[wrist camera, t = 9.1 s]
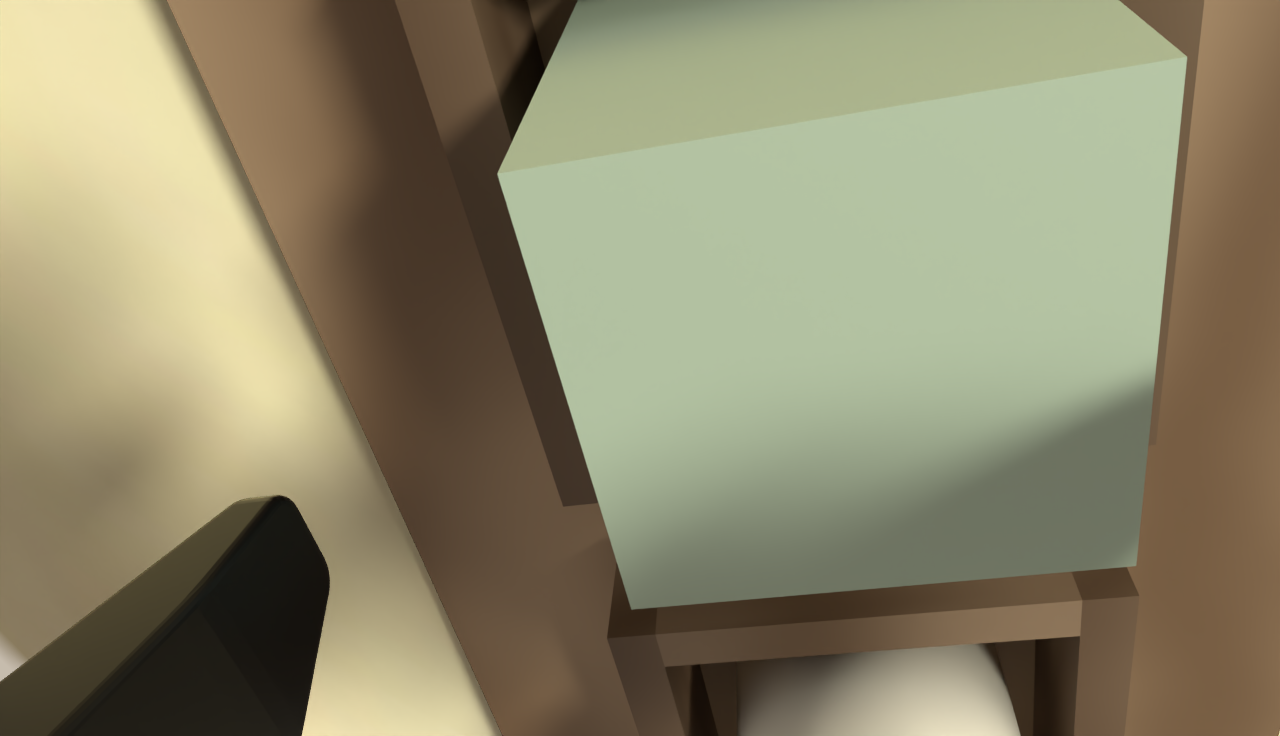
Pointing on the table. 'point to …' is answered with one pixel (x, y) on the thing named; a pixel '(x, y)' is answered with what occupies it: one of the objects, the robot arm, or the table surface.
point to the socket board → (551, 451)
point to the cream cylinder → (877, 694)
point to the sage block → (853, 284)
